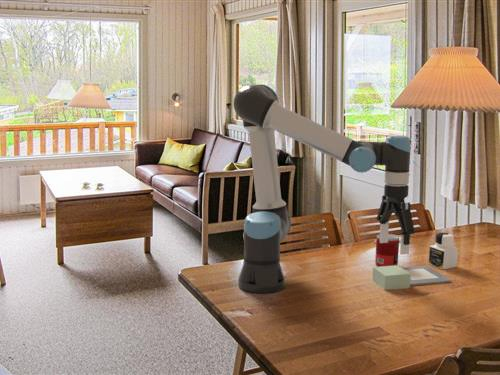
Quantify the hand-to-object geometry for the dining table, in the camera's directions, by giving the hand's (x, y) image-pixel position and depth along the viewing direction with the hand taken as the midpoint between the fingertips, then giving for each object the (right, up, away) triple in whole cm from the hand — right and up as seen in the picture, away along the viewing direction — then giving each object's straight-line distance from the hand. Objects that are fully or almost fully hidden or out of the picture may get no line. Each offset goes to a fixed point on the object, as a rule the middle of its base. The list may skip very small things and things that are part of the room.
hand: (393, 248), depth 191 cm
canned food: (+3, -9, +21) cm, 23 cm away
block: (0, -12, +2) cm, 13 cm away
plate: (+11, -11, +10) cm, 18 cm away
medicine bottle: (+23, -9, +22) cm, 33 cm away
